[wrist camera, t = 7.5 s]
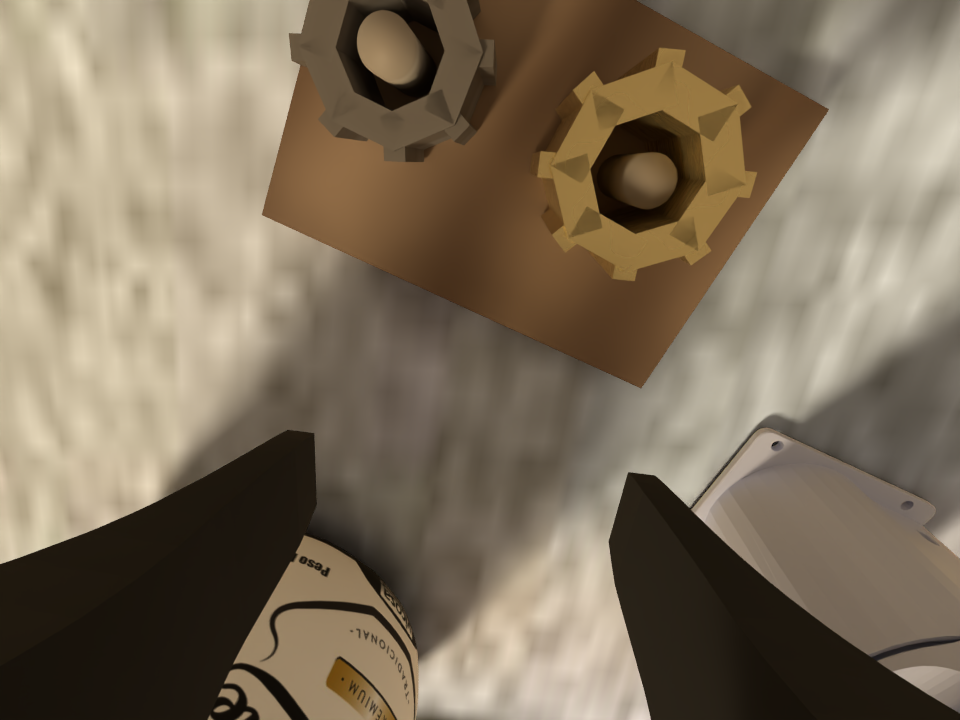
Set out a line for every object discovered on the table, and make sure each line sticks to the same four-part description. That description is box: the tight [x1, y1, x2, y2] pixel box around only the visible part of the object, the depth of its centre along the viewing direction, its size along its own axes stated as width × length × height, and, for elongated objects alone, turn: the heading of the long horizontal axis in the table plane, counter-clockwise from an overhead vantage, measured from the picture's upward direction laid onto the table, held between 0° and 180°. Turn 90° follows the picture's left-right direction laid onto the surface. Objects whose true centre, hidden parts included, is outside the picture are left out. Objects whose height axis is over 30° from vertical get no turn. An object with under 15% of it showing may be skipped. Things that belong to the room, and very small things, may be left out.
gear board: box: [262, 0, 829, 388], centre depth 15 cm, size 16×11×5 cm
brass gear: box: [530, 48, 757, 281], centre depth 14 cm, size 5×5×5 cm
